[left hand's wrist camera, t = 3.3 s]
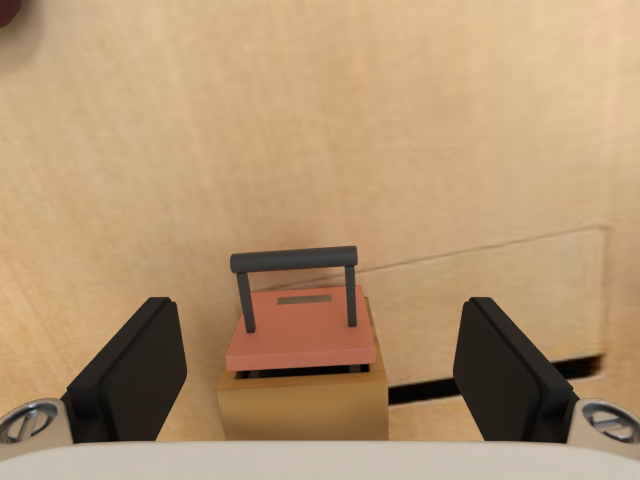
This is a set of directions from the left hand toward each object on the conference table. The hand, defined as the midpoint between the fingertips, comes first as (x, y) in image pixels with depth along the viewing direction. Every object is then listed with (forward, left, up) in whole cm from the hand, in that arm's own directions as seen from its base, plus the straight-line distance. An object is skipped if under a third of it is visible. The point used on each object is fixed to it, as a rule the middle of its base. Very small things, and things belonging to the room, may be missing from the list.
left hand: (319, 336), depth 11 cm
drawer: (-11, +8, -17) cm, 22 cm away
